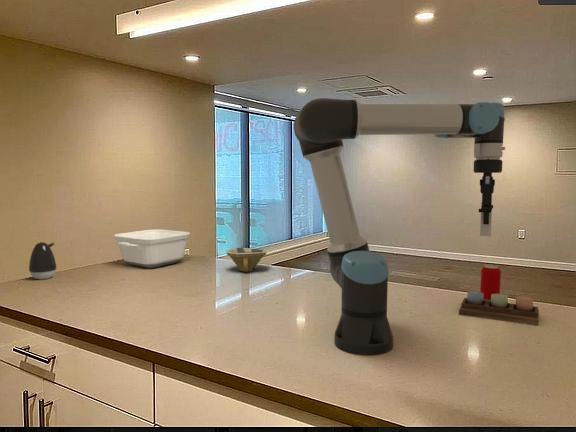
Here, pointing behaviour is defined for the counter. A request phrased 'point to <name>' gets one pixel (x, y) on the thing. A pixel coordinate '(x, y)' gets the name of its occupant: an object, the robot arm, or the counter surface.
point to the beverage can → (490, 281)
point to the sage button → (499, 300)
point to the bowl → (246, 258)
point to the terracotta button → (524, 303)
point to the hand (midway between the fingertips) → (485, 233)
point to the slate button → (475, 297)
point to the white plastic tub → (152, 247)
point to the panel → (499, 312)
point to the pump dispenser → (42, 261)
